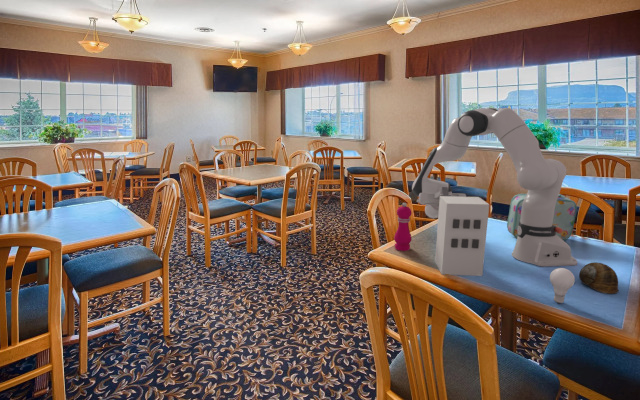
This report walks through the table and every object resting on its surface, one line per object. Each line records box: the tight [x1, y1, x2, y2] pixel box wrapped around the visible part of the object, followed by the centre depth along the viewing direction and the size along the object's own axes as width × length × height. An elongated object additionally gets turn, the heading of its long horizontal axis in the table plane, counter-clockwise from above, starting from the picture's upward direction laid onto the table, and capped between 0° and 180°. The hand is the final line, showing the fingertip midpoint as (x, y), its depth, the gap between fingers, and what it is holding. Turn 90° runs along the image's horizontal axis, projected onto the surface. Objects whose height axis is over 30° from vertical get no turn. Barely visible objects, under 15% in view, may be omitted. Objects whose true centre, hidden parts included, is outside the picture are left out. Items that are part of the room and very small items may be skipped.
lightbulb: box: [549, 267, 576, 304], centre depth 116 cm, size 6×6×11 cm
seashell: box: [578, 261, 619, 295], centre depth 127 cm, size 11×9×8 cm
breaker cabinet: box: [434, 196, 490, 277], centre depth 139 cm, size 14×13×26 cm
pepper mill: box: [393, 202, 412, 252], centre depth 161 cm, size 7×7×20 cm
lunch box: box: [506, 193, 577, 242], centre depth 175 cm, size 27×10×21 cm, turn 85°
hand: (445, 193), depth 164 cm, fingers closed on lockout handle, 2 cm apart
